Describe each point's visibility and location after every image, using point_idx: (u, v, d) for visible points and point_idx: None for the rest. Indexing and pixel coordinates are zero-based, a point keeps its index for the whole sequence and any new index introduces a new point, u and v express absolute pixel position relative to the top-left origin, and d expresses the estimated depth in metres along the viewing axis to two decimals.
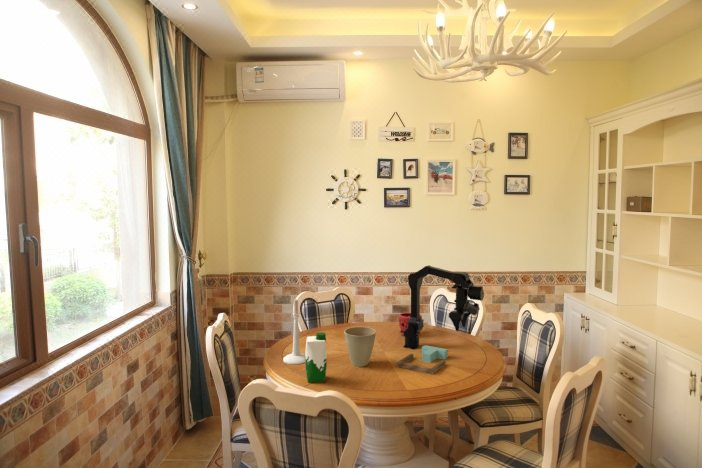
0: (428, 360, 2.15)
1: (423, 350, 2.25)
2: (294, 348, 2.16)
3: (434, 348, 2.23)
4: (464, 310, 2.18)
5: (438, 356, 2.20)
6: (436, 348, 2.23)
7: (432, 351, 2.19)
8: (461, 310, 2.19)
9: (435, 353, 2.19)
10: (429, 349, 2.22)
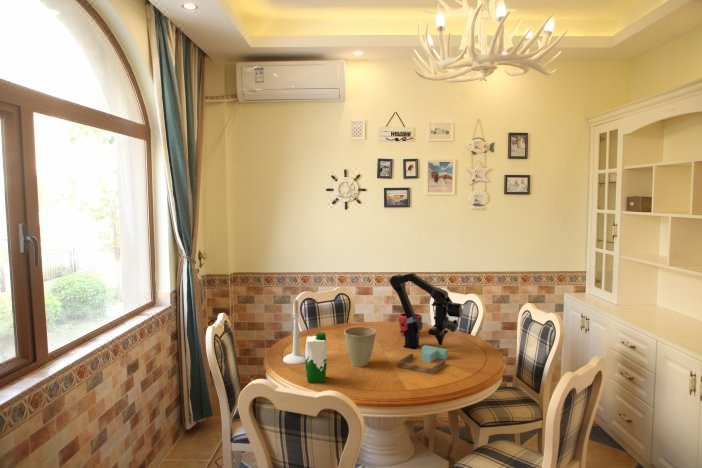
0: (428, 360, 2.15)
1: (423, 350, 2.25)
2: (294, 348, 2.16)
3: (434, 348, 2.23)
4: (443, 327, 2.26)
5: (438, 356, 2.20)
6: (436, 348, 2.23)
7: (432, 351, 2.19)
8: (440, 327, 2.27)
9: (435, 353, 2.19)
10: (429, 349, 2.22)
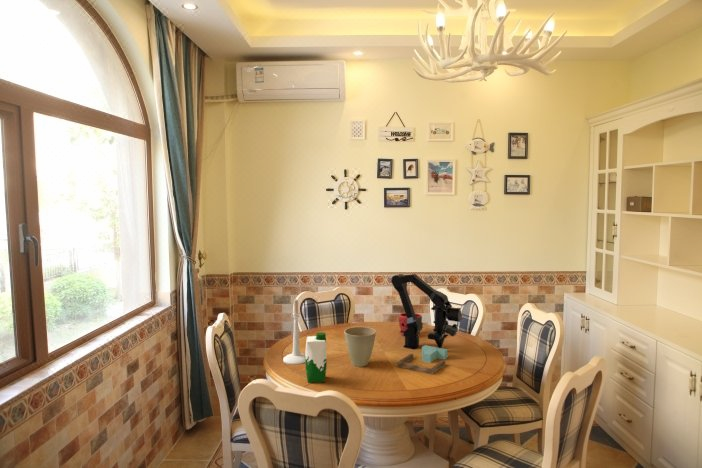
0: (428, 360, 2.15)
1: (423, 350, 2.25)
2: (294, 348, 2.16)
3: (434, 348, 2.23)
4: (443, 331, 2.25)
5: (438, 356, 2.20)
6: (436, 348, 2.23)
7: (432, 351, 2.19)
8: (440, 331, 2.26)
9: (435, 353, 2.19)
10: (429, 349, 2.22)
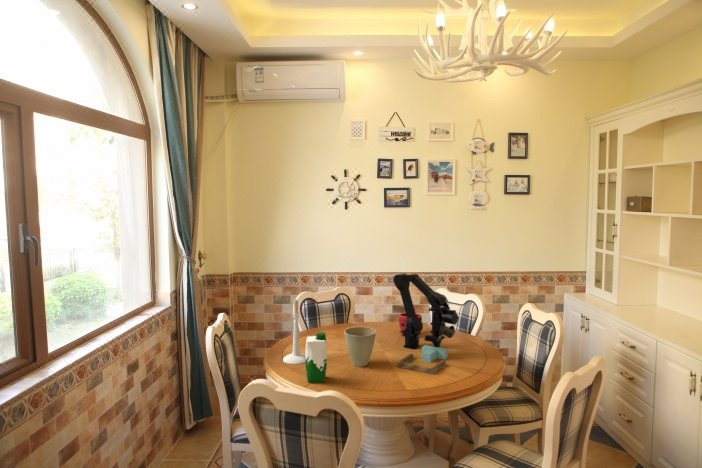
0: (428, 360, 2.15)
1: (423, 350, 2.25)
2: (294, 348, 2.16)
3: (434, 348, 2.23)
4: (440, 333, 2.22)
5: (438, 356, 2.20)
6: (436, 348, 2.23)
7: (432, 351, 2.18)
8: (437, 333, 2.23)
9: (435, 353, 2.19)
10: (429, 349, 2.21)
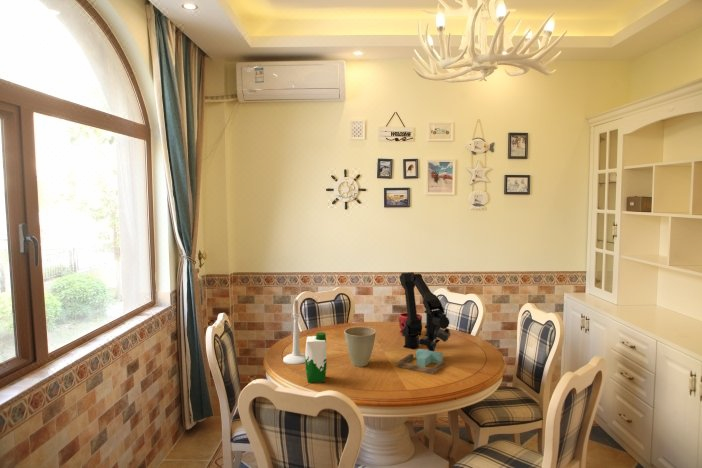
0: (423, 364, 2.09)
1: (417, 354, 2.19)
2: (294, 348, 2.16)
3: (429, 352, 2.17)
4: (434, 336, 2.16)
5: (433, 360, 2.15)
6: (431, 352, 2.17)
7: (427, 355, 2.13)
8: (432, 336, 2.17)
9: (430, 357, 2.14)
10: (424, 353, 2.16)
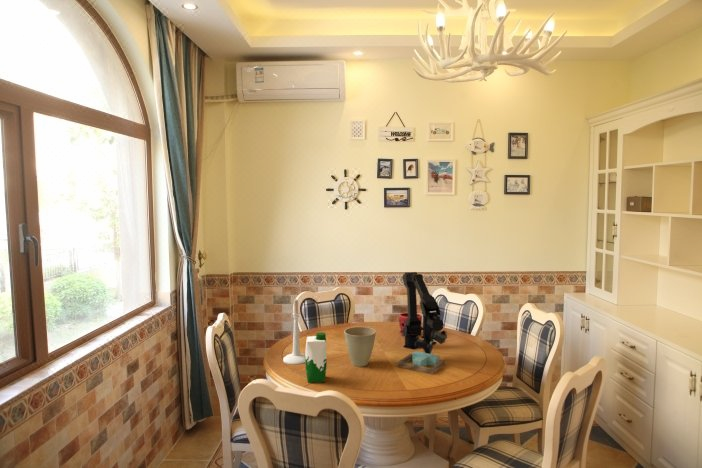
0: None
1: (414, 356, 2.15)
2: (294, 348, 2.16)
3: (425, 354, 2.14)
4: (431, 338, 2.13)
5: (429, 363, 2.11)
6: (427, 354, 2.14)
7: (423, 357, 2.09)
8: (428, 338, 2.14)
9: (426, 359, 2.10)
10: (420, 355, 2.12)
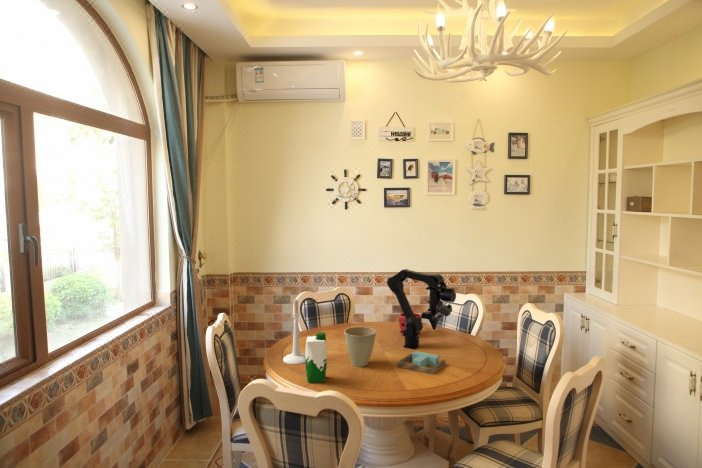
0: None
1: (413, 356, 2.15)
2: (294, 348, 2.16)
3: (425, 354, 2.14)
4: (436, 311, 2.24)
5: (429, 363, 2.11)
6: (427, 354, 2.14)
7: (423, 357, 2.09)
8: (434, 311, 2.25)
9: (426, 360, 2.10)
10: (420, 355, 2.12)
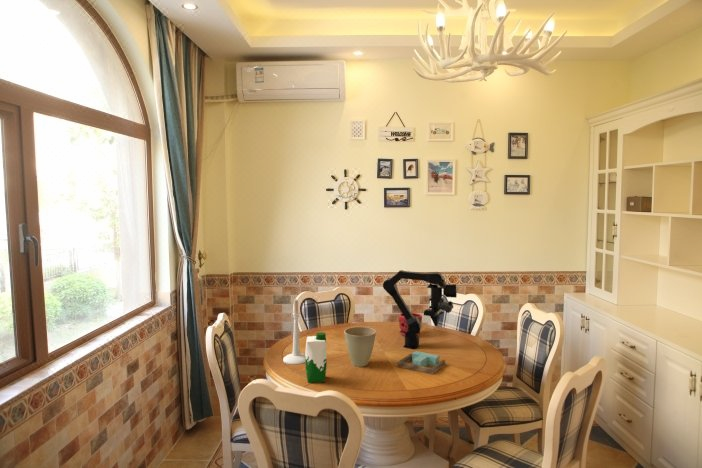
0: None
1: (413, 356, 2.15)
2: (294, 348, 2.16)
3: (425, 354, 2.14)
4: (438, 308, 2.30)
5: (429, 363, 2.11)
6: (427, 354, 2.14)
7: (423, 358, 2.09)
8: (436, 308, 2.31)
9: (426, 360, 2.10)
10: (420, 355, 2.12)
